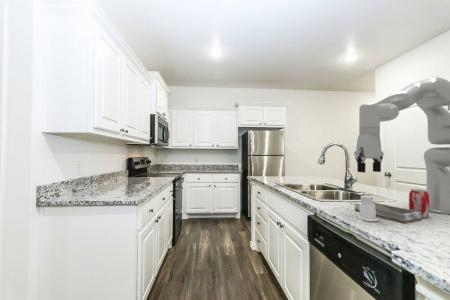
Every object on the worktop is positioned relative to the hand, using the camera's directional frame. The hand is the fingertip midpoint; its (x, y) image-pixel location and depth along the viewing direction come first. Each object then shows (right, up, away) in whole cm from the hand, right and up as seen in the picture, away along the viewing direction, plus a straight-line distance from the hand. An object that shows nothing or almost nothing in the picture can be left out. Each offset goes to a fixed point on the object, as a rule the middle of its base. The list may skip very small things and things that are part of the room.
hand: (369, 171), depth 98 cm
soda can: (+26, -21, +5) cm, 34 cm away
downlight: (-1, -21, 0) cm, 21 cm away
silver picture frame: (+12, -21, +7) cm, 25 cm away
